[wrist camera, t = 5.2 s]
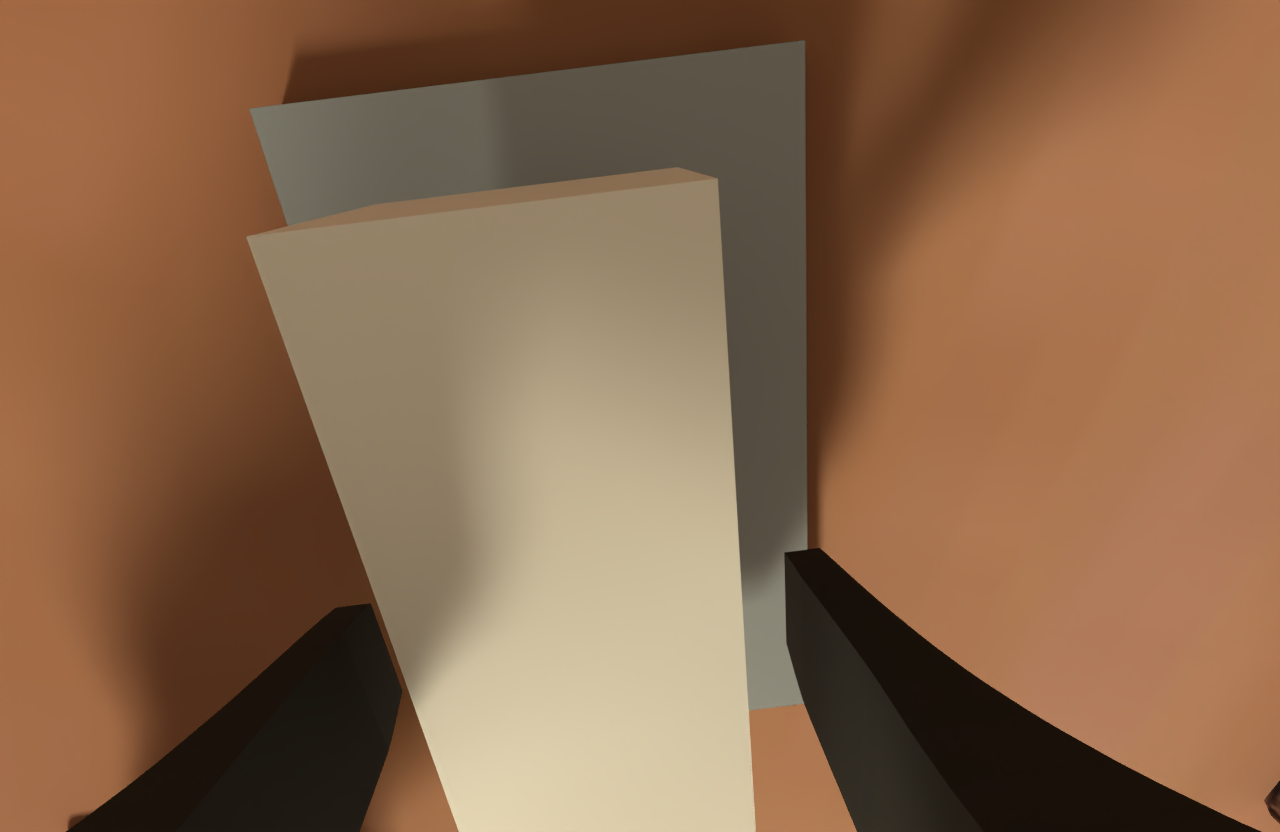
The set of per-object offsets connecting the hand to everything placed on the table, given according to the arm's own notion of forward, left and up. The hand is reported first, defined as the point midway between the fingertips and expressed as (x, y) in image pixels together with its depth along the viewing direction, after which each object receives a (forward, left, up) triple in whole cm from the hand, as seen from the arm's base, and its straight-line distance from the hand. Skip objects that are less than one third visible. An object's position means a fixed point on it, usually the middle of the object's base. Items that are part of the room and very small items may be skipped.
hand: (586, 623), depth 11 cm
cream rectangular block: (0, 0, -2) cm, 2 cm away
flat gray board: (0, 0, -7) cm, 7 cm away
